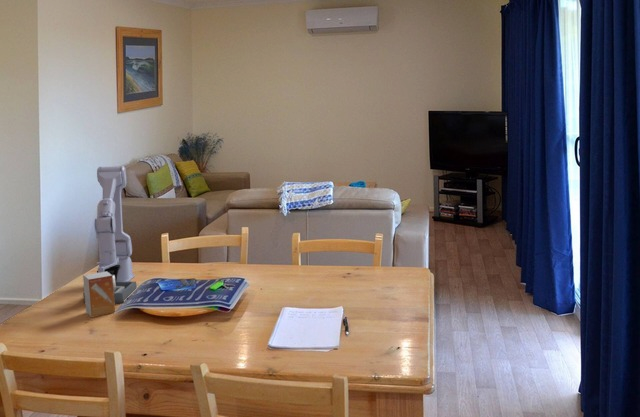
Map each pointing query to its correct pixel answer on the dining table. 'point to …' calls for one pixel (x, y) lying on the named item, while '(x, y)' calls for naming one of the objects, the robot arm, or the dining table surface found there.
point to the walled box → (122, 290)
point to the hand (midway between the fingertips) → (110, 287)
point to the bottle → (114, 283)
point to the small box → (99, 294)
